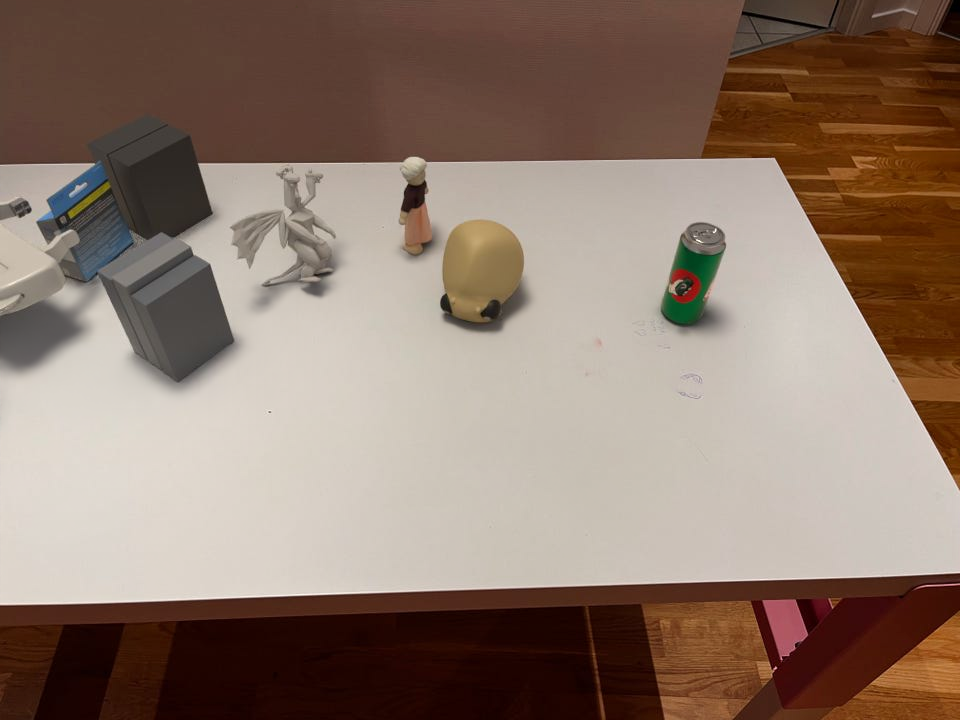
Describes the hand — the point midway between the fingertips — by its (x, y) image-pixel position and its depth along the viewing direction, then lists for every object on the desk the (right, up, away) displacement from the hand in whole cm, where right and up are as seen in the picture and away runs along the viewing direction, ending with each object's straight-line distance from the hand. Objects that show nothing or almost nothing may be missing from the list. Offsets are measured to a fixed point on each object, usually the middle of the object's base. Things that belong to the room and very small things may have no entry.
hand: (50, 217), depth 87 cm
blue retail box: (+2, -4, +8) cm, 9 cm away
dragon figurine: (+28, -5, +8) cm, 29 cm away
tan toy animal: (+50, -9, +5) cm, 51 cm away
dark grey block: (+8, +3, +14) cm, 16 cm away
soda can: (+75, -11, +4) cm, 76 cm away
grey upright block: (+17, -15, -2) cm, 23 cm away
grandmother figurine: (+42, -1, +12) cm, 44 cm away
